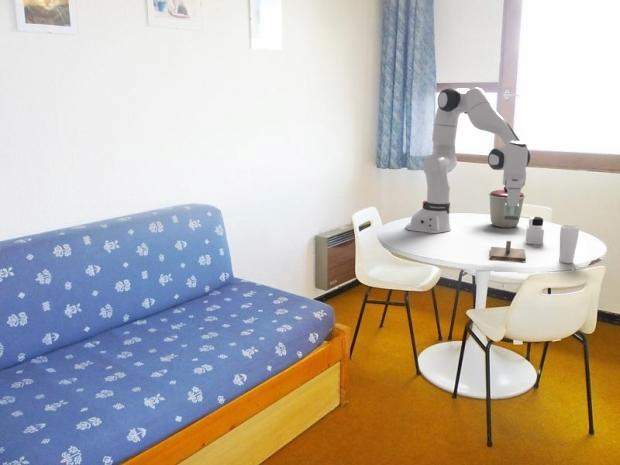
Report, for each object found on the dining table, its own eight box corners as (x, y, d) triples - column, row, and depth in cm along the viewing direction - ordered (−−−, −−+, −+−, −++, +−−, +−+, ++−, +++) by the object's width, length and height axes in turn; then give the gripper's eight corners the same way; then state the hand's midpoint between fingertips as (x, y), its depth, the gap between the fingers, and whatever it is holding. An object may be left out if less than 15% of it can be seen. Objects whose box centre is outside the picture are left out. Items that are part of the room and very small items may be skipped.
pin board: (490, 258, 237) (491, 244, 236) (490, 249, 250) (491, 235, 249) (525, 261, 233) (526, 246, 232) (524, 252, 246) (525, 238, 244)
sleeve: (504, 219, 236) (505, 205, 234) (504, 216, 241) (505, 202, 239) (517, 220, 234) (519, 206, 233) (517, 217, 239) (518, 203, 238)
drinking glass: (554, 259, 236) (557, 225, 232) (569, 259, 236) (573, 224, 233) (562, 264, 229) (566, 229, 226) (578, 264, 230) (582, 228, 226)
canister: (480, 226, 293) (483, 186, 287) (494, 220, 306) (497, 181, 300) (514, 231, 281) (518, 190, 276) (527, 225, 294) (531, 185, 289)
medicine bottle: (541, 241, 264) (544, 216, 261) (542, 245, 258) (545, 219, 255) (525, 239, 266) (527, 215, 263) (525, 243, 260) (528, 218, 257)
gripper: (505, 176, 244) (503, 207, 247) (506, 184, 225) (503, 217, 229) (521, 177, 242) (518, 208, 246) (523, 184, 223) (520, 218, 227)
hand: (511, 213), depth 237 cm, fingers closed on sleeve, 5 cm apart
